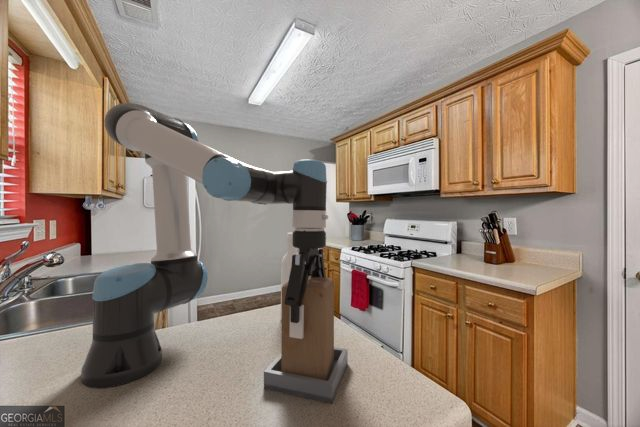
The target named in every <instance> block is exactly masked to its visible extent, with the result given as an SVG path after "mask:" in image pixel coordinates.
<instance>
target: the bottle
mask: <svg viewBox="0 0 640 427" xmlns="http://www.w3.org/2000/svg"><path fill="white" fill-rule="evenodd" d="M286 241H287V242H286V248H287V249H286V253H285V254H284V256H282V260H281V263H280V321H282V287H283V285H284V284H286V283H287V282H288V281H289V276H290V271H291V266H292V255H293V254H296V255H299V252H298V248H295V247H293V245H292V241H293V232H287V233H286Z"/></svg>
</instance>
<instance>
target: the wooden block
mask: <svg viewBox="0 0 640 427" xmlns="http://www.w3.org/2000/svg"><path fill="white" fill-rule="evenodd" d="M287 286H288V282H287V283H286V284H284V285H283V287H282V320H281V347H280V348H281V352H280V353H281V372H285V373H290V374H295V375H300V376H305V377H311V378H316V379H321V380H326V381H327V380H328V377H329V374H330V370H331V367H332V364H333V361H334V347H335V282H334V280H333V278H331V277H326V278H321V277H311V276H309V278H308V282H307V286H306V289H305V293H304V297H303V301H302V305H304V332H303V339H299V338H292V337H289V336H290V305H285V303H284V302H285V297H286V291H287Z"/></svg>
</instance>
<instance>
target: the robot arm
mask: <svg viewBox="0 0 640 427" xmlns="http://www.w3.org/2000/svg"><path fill="white" fill-rule="evenodd" d="M104 128H105V131H106V133H107V134H108V136H109V137H110V138H111V139H112V140H113V142H115V143H116V144H118V145H120V146H122V147H124V148H126V149H127V150H129V151H132V152H142V153H143V154H144V161H145V164H146V165H148V166H149V167H150V168H151V173H152V174H151V175H152V188H153V189H152V190H153V208H154V209H153V210H154V223H155V224H154V225H155V226H154V227H155V241H156V242H155V243H156V253H155V255H154V256H153V257H152V258H151V259H150V263H148V262H146V263H145V262H141V263H140V262H138V263H133V264H125V265H120V266H117V267H114V268H110V269H107V270H105V271H103V272H100V273H99V275H98V276H97V277H96V278H95V280H94V282H93V288H92V289H93V290H92V295H91V297H92V341H91V344H90V347H89V349H88V352H87V355H86V357H85V360H84V364H83V365H82V366H81V370H80V375H81V376H80V378H81V379H80V381H81V384H82V385H83V386H84V387H88V388H92V389H95V388H96V389H103V388H110V387H111V388H112V387H115V386H121V385H125V384H127V383H130V382H133V381H135V380H138V379H140V378H142V377H145V376H147V375H149V374H150V373H151V372H153V371H155V370H156V369H157V368H158V367H159V366H160V365H161V363H162V361H163V349H162V346H161V344H160V341H159V338H158V335H157V333H156V329H155V315H156V314H158V313H161V312H163V311H167V310H170V309H172V308H175V307H179V306H180V305H186V304H187V303H189V302H192V301H193V300H196V299H198V298H200V296H202V294H203V293H204V291H205V289H206V287H207V285H208V281H209V280H208V279H209V276H208V275H209V274H208V269H207V268H206V266H204V263H203V262H202V261H201V260H199V259H198V254H197V253H196V252H195V251H194V250H193V249H192V243H191V242H192V240H191V228H190V212H189V196H188V195H189V194H188V183H187V182H188V181H187V180H188V179H187V177H189V178H190V179H192V180H194V181H196V182H198V183H199V184H202V185H203V187H204V189H205V191H206V193H208V195H210V196H211V197H214V198H216V199H221V200H224V201H228V202H230V201H235V202H236V201H237V202H250V203H251V204H256V205H273V204H274V205H278V204H292V228H293V229H294V230H293V232H292V233H293V241H292V245H293V247H295V248H297V249H299V250H298V254H299V255H296V254H293V255H292V266H291V271H290V276H289V281H288V286H287V291H286V297H285V302H284V303H285V305H290V336H289V337H292V338H299V339H303V332H304V305H302V301H303V297H304V293H305V289H306V286H307V282H308V278H309V277H321V278H327V277H326V269H325V262H324V249H323V248H325V247H326V246H327V245H326V244H327V232H326V231H325V230H324V229H326V227H327V222H326V221H327V220H328V219H329V216H328V215H327V188H328V187H327V184H328V180H327V166H326V163H324V162H323V161H320V160H318V159H300V160H296V161H295V162H294V163H293V166H292V170H289V171H270V170H267V169H264V168H262V167H261V168H260V167H257V166H254V165H250V164H247V163H246V162H243V161H241V160H237V159H235V158H234V157H231V156H229V155H227V154H224V153H222V152H220V151H218V150H217V149H214V148H212V147H210V146H208V145H206V144H204V143H201V142H199V138H198V135H197V132H196V130H195V129H194V128H193V127H192V126H191V125H190V124H188V123H186V122H184V121H183V120H181V119H178V118H176V117H171V116H169V115H167V114H165V113H162V112H160V111H157V110H154V109H152V108H149V107H148V106H145V105H142V104H138V103H135V102H123V103H118V104H116V105H114V106H113V107H111V108H110V109H109V110H107V112H106V114H105V116H104Z"/></svg>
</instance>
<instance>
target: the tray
mask: <svg viewBox="0 0 640 427" xmlns="http://www.w3.org/2000/svg"><path fill="white" fill-rule="evenodd" d="M348 355H349V354H348V348H341V347H335V346H334V361H333V364H332V367H331V370H330V374H329V377H328V380H327V381H326V380H321V379H316V378H311V377H305V376H300V375H295V374H290V373H285V372H281V352H280V353H279V355H278V356H277V357H275V359H274V360H273V361H272V362H271V363H270V364H269V365H268V366H267V368H265V370H264V371H263V389H264V390H268V391H272V392H277V393H282V394H286V395H291V396H295V397H299V398H304V399H309V400H314V401H319V402H321V403H327V404H333V402H334V400H335V397H336V395H337V392H338V389H339V387H340V384H341V381H342V379H343V376H344V373H345V371H346V369H347V366H348V362H349V360H348Z"/></svg>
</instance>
